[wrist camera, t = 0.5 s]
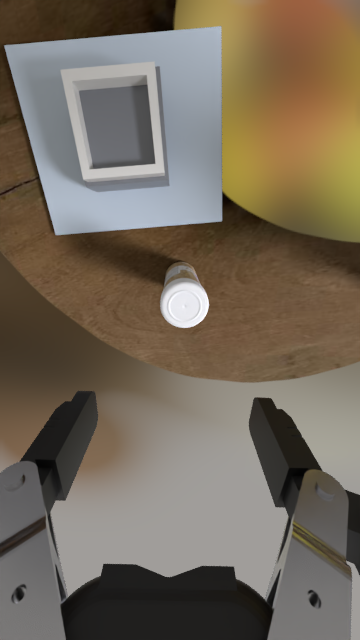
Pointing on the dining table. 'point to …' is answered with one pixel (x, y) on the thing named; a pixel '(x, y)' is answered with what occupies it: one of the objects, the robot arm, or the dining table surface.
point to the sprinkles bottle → (183, 296)
